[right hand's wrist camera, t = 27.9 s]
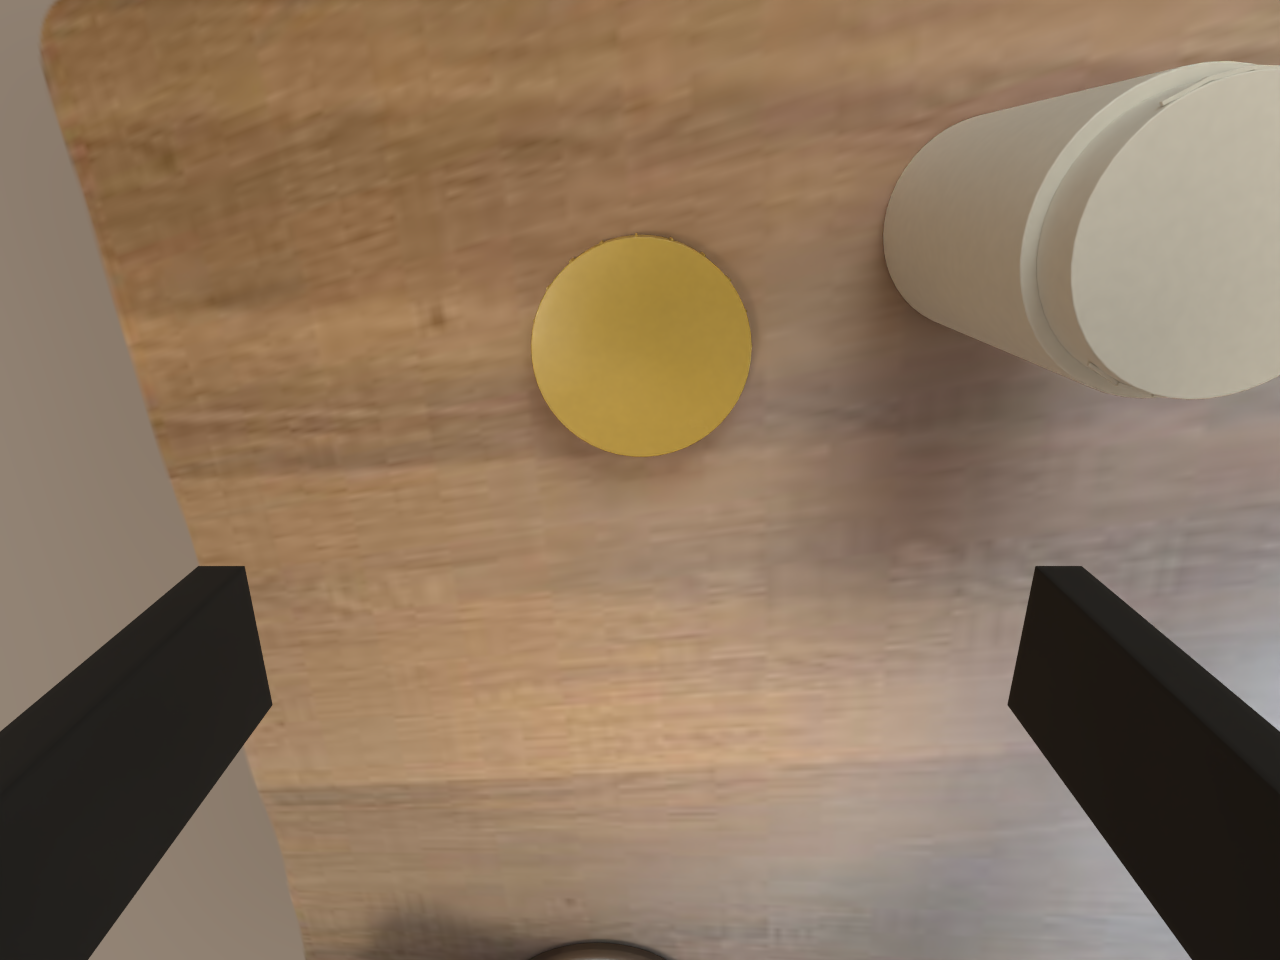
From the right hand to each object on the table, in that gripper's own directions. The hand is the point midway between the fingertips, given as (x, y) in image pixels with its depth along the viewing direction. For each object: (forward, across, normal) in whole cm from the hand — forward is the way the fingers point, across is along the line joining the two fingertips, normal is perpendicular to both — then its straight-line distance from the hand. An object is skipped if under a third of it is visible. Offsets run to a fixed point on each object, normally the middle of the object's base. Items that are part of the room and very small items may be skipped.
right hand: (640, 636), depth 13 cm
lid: (+24, 0, 0) cm, 24 cm away
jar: (+26, +16, +6) cm, 31 cm away
